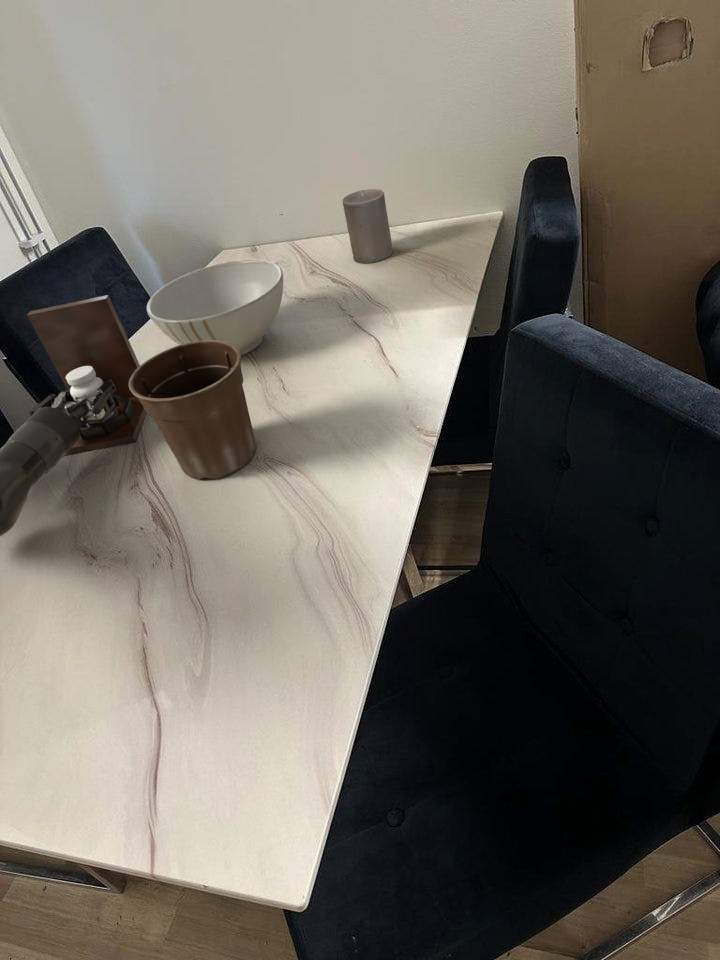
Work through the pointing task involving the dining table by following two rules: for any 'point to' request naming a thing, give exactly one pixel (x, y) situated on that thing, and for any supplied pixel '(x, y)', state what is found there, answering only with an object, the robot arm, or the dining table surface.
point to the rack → (94, 363)
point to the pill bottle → (86, 388)
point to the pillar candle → (368, 225)
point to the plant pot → (199, 406)
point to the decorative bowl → (220, 303)
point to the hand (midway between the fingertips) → (96, 384)
